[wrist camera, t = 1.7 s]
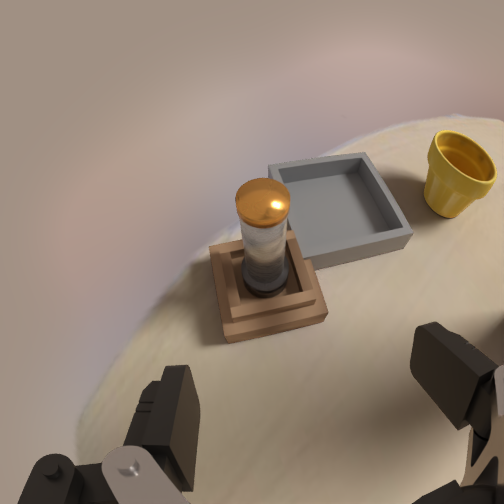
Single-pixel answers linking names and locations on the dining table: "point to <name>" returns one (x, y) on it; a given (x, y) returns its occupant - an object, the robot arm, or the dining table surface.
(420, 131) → the dining table surface
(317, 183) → the tray
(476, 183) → the plant pot
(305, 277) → the brown square open box
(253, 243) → the gold-capped glass canister
